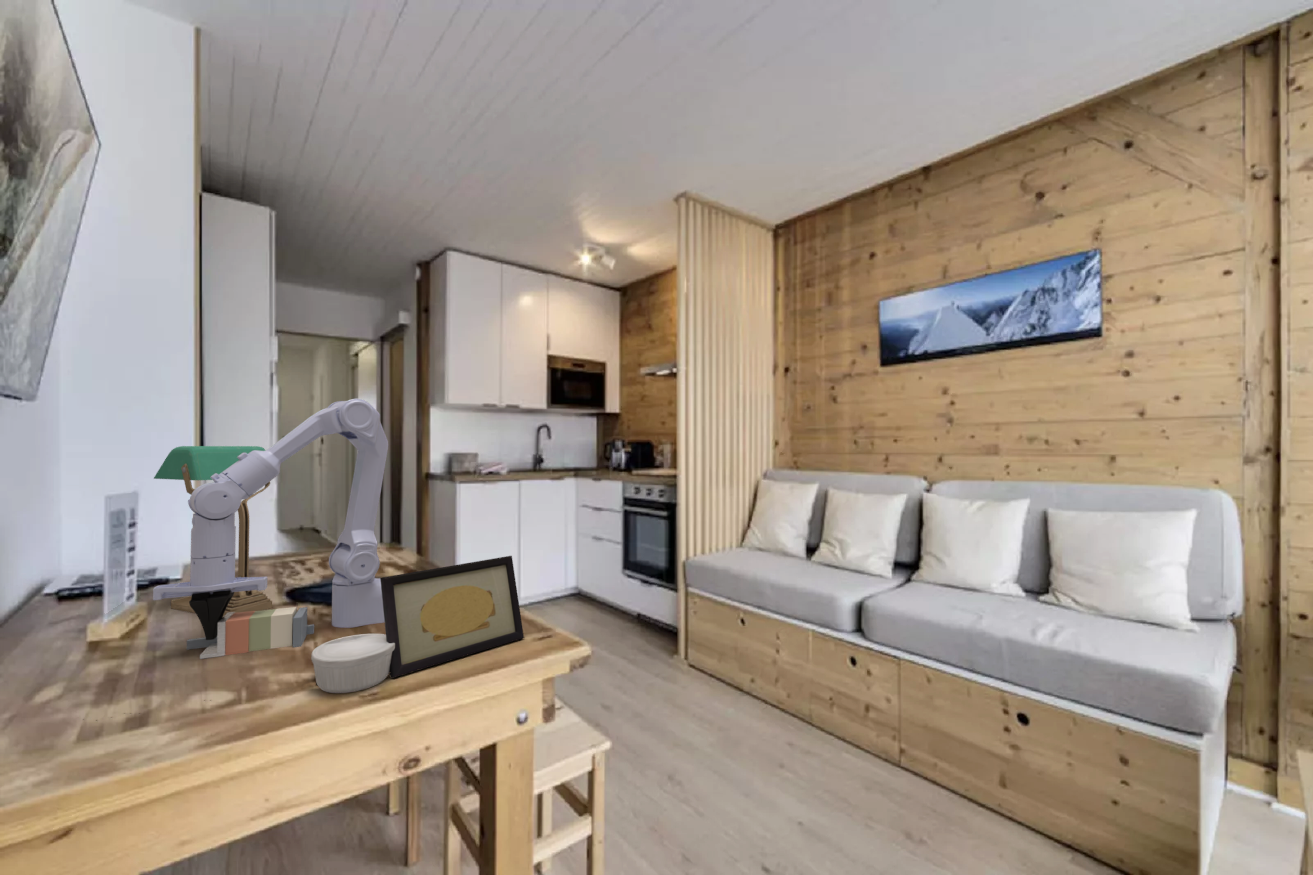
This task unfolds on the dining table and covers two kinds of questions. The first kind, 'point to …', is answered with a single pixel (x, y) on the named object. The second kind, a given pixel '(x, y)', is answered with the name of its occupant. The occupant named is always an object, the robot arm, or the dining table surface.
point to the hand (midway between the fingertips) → (211, 638)
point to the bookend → (218, 640)
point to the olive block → (260, 630)
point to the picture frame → (450, 612)
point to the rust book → (238, 633)
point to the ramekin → (352, 662)
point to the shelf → (298, 632)
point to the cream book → (282, 627)
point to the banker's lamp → (216, 459)
